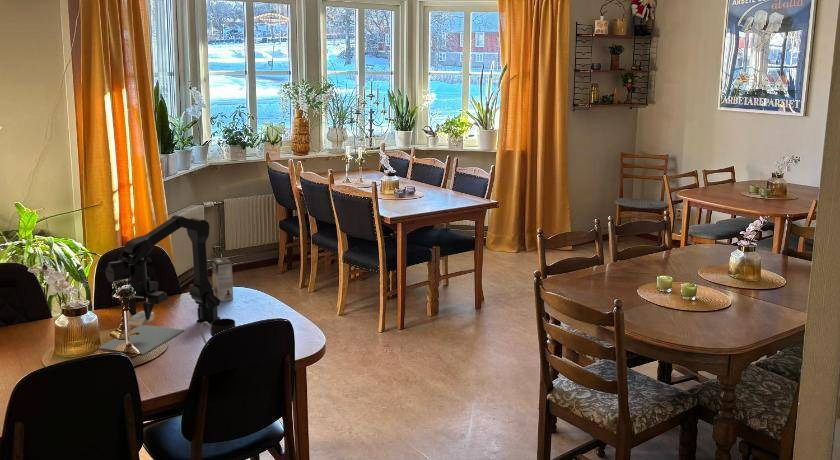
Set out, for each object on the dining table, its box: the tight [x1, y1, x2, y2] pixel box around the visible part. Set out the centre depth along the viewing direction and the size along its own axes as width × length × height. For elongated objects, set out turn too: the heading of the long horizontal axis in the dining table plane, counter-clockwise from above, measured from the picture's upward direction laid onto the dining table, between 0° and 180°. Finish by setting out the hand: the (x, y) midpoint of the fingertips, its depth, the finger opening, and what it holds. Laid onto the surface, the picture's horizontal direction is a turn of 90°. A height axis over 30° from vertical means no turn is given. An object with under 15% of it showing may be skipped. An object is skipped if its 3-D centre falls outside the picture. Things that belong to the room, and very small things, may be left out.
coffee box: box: [210, 256, 234, 302], centre depth 319 cm, size 9×6×16 cm
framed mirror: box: [127, 310, 156, 327], centre depth 272 cm, size 8×5×3 cm, turn 165°
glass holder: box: [199, 318, 236, 345], centre depth 252 cm, size 9×14×15 cm, turn 61°
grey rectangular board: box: [98, 324, 185, 356], centre depth 274 cm, size 18×24×1 cm
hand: (141, 318), depth 272 cm, fingers closed on framed mirror, 5 cm apart
